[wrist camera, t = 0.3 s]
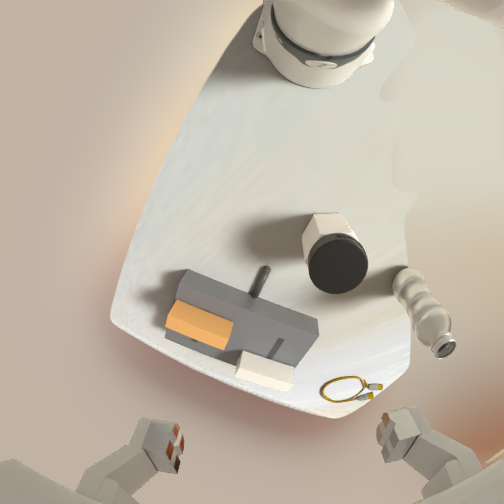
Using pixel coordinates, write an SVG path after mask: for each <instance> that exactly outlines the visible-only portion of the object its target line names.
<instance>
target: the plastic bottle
mask: <svg viewBox="0 0 504 504" xmlns="http://www.w3.org/2000/svg"><path fill="white" fill-rule="evenodd" d="M392 288H393V293H394V296H395V297H396V298H397V300H398V301H399V302H400V303H401V304H402V305H403V307H404V308H405V310H406V311H407V313H408V315H409V318H410V320H411V323H412V326H413V330H414V334H415V337H416V339H417V341H418V342H419V343H421V344H422V345H424V346H427V347H431V350H432V352H433V353H434V355H435V357H436V358H437V359H444V358H446V357H448V356H449V355H450V354H452V352H453V351H454V350H455V348H456V345H457V344H456V341H455V339H454V337H453V335H452V333H451V332H450V331H451V318H450V315H449V313H448V312H447V310H446V309H445V308H444V307H443V306H442V305H441V304H439V303H438V301H437V300H436V299H435V297H433V295H432V294H431V292H430V291H429V289H428V287H427V285H426V282H425V279H424V277H423V275H422V274H421V273H420V272H419V271H418V270H416V269H415V268H405V269H403V270H401V271H400V272H398V274H397V275H396V276H395V278H394V280H393V284H392Z"/></svg>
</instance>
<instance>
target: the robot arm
mask: <svg viewBox="0 0 504 504" xmlns="http://www.w3.org/2000/svg"><path fill="white" fill-rule="evenodd" d="M439 1H441V2H443V3H445V4H447V5H449V6H451V7H453V8H455V9H457V10H459V11H462V12H464V13H467V14H470V15H472V16H475V17H478V18H480V19H483V20H485V21H487V22H490V23H492V24H495V25H497V26H500V27H502V28H504V0H439ZM263 4H264V7H263V10H262V13H261V16H260V19H259V22H258V25H257V28H256V32H255V35H254V38H253V47H254V48H255V49H256V50H258V51H259V52H261V53H262V54H264V55H266V56H267V57H268V58H269V59H270V61H271V62H272V64H273V65H274V67H275V68H276V69H277V70H278V71H279V72H280V73H281V74H282V75H283V76H284V77H286V78H287V79H289V80H290V81H292V82H294V83H296V84H299V85H302V86H305V87H310V88H328V87H332V86H336V85H338V84H340V83H342V82H344V81H345V80H347V79H348V78H349V77H350V76H351V75H352V74H353V73H354V72H355V70H357V69H358V68H359V67H362V66H365V65H367V64H369V63H370V62H372V60H373V58H374V56H373V49H374V47H375V44H374V43H373V40H374V38H375V35H376V34H377V33H378V32H379V31H380V30H381V29H382V28H383V27H384V26H385V25H386V24H387V23H388V22H389V20H390V18H391V16H392V13H393V9H394V0H263ZM261 35H262V38H260V36H261ZM179 429H180V427H179V424H178V423H175V422H168V421H160V420H155V419H150V418H144V417H142V418H141V419H140V420H139V422H138V424H137V427H136V429H135V431H134V434H133V436H132V438H131V441H130V443H129V446H126V445H125V446H124V447H122V448H120V449H119V450H117V451H116V452H114V453H112V454H111V455H110V456H108V457H106V458H105V459H103V460H101V461H100V462H98V463H96V464H95V465H93V466H91V467H89V468H88V469H86V471H85V473H84V475H83V477H82V479H81V481H80V483H79V485H78V487H77V489H76V492H74V491H72V490H70V489H68V488H66V487H64V486H62V485H60V484H58V483H56V482H54V481H52V480H50V479H48V478H47V477H45V476H43V475H41V474H39V473H38V472H36V471H34V470H32V469H31V468H29V467H28V466H26V465H24V464H23V463H21V462H19V461H17V460H15V459H11V460H7V461H4V462H1V463H0V504H139V503H138V502H137V501H136V500H135V499H134V498H133V497H132V496H131V495H132V494H134V493H135V492H136V491H137V490H138V489H139V488H141V487H142V486H143V485H144V484H145V483H146V482H147V481H149V479H151V478H152V477H153V476H154V475H155V474H156V473H157V472H158V471H161V472H167V473H174V474H178V470H179V466H180V460H179V458H178V457H179V456H180V455H181V454H182V453H183V450H184V437H183V435H182V433H180V432H179ZM376 436H377V441H378V444H380V445H381V446H382V447H383V449H382V451H381V452H382V455H383V458H384V461H385V463H389V462H393V461H397V460H400V459H403V460H404V461H406V462H407V463H408V464H409V465H410V466H412V467H413V468H414V469H415V470H417V471H418V472H419V473H420V474H422V475H423V476H424V477H425V478H427V479H428V480H429V482H428V484H427V485H425V487H424V488H423V489H422V490H421V491H422V494H423V497H424V499H423V500H420V501H418V502H415V503H413V504H504V457H502V458H501V459H499V460H498V461H496V462H495V463H493V464H492V465H490V466H488V467H487V468H485V469H484V470H483V469H482V467H481V465H480V463H479V461H478V459H477V458H476V456H475V454H474V452H473V450H472V449H470V448H468V447H466V446H464V445H462V444H460V443H458V442H456V441H454V440H453V439H451V438H449V437H447V436H445V435H443V434H442V433H440V432H438V431H436V430H433V431H432V430H431V428H430V426H429V424H428V422H427V421H426V418H425V417H424V415H423V414H422V411H421V409H420V408H419V406H418V405H413V406H409V407H406V408H405V407H404V408H401V409H397V410H393V411H389V412H385V413H384V414H383V415H382V422H381V423H380V424H379V425H378V427H377V434H376Z"/></svg>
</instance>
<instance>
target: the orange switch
mask: <svg viewBox="0 0 504 504" xmlns="http://www.w3.org/2000/svg"><path fill="white" fill-rule="evenodd" d="M233 323H234V322H232V321H229V320H226V319H224V318H221V317H219V316H216V315H214V314H211V313H209V312H206V311H204V310H201V309H199V308H196V307H194V306H192V305H189V304H187V303H184V302H182V301H180V300H176V302H175V304H174V305H173V307H172V309H171V310H170V312H169V314H168V317H167V321H166V325H165V327H167V328H169V329H172V330H174V331H176V332H179V333H181V334H183V335H186V336H188V337H191V338H193V339H195V340H198V341H200V342H203V343H206V344H208V345H211V346H213V347H216V348H219V349H221V350H224V349H225V347H226V345H227V342H228V340H229V337H230V334H231V330H232V326H233Z"/></svg>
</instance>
